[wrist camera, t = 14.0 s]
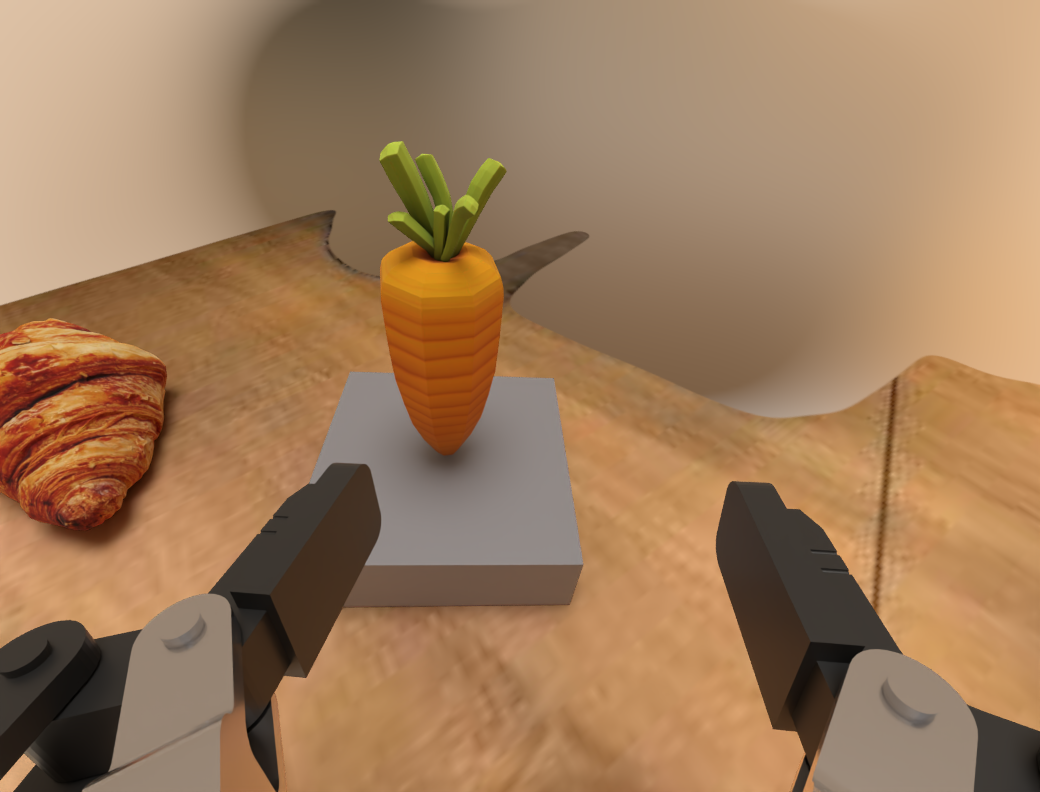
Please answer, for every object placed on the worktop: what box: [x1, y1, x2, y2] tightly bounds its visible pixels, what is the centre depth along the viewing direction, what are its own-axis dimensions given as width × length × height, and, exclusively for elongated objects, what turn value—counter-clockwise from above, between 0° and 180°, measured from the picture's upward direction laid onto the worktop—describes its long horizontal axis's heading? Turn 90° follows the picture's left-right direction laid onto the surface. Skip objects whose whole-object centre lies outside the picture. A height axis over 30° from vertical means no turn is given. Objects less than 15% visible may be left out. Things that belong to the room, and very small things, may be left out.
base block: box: [309, 372, 583, 607], centre depth 26 cm, size 13×13×4 cm
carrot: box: [380, 142, 506, 456], centre depth 20 cm, size 5×5×15 cm
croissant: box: [0, 318, 167, 530], centre depth 27 cm, size 21×10×8 cm, turn 42°
